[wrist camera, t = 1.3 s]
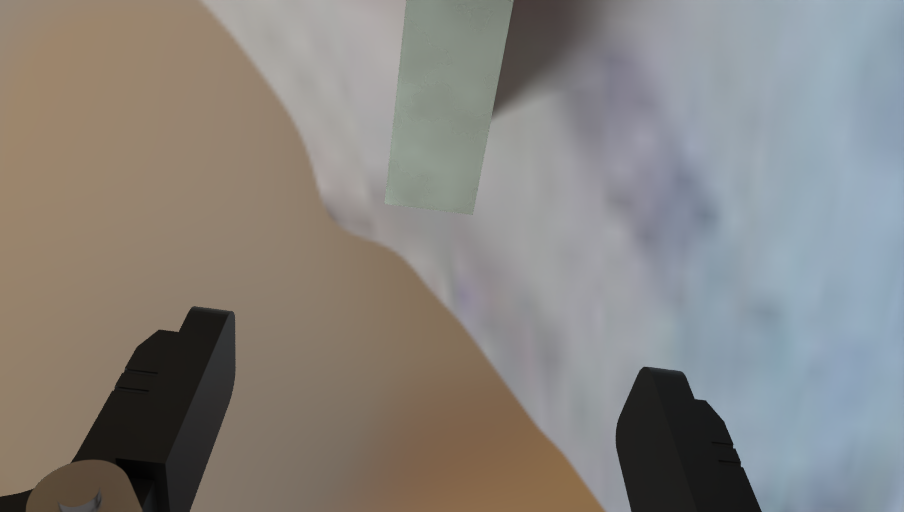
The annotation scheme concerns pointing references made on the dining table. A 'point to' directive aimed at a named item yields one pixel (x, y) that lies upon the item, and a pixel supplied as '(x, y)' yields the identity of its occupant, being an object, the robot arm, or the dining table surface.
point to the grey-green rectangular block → (445, 101)
